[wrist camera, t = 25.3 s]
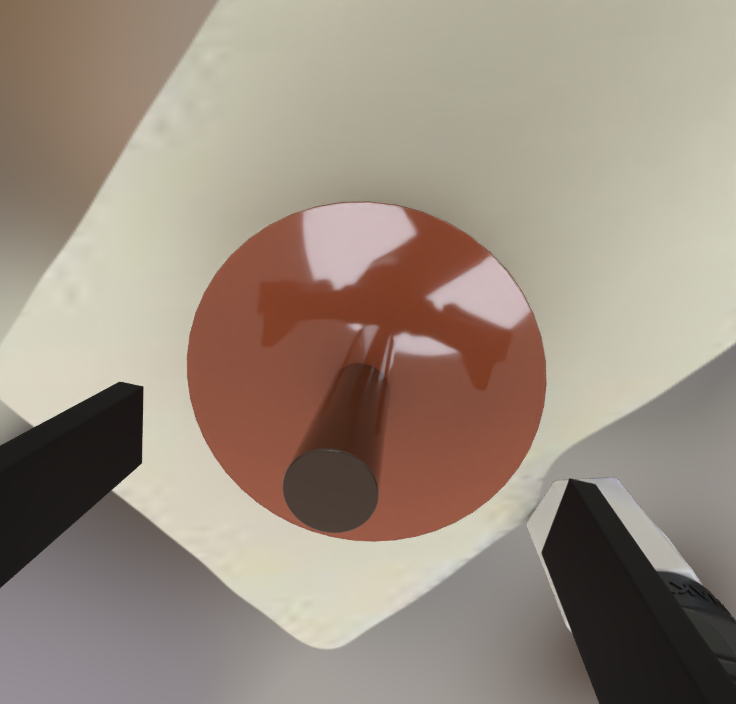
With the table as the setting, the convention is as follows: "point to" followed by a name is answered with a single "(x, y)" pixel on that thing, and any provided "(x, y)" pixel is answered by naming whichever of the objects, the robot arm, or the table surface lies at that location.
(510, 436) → the lid
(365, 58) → the table surface
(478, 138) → the table surface
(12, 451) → the robot arm
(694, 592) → the jar
